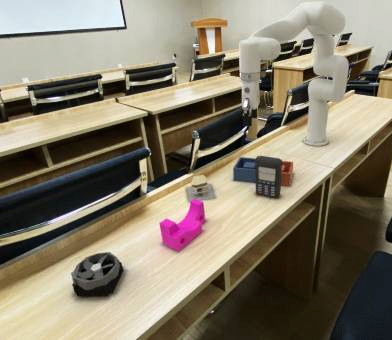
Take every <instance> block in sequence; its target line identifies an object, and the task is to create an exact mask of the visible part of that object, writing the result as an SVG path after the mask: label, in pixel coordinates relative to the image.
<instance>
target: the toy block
mask: <svg viewBox="0 0 392 340" xmlns="http://www.w3.org/2000/svg"><path fill="white" fill-rule="evenodd" d="M205 222H206V213H205V203H204V201H203V200H197V199H193V200H192V201H190V202H189V207H188V210H187V213H186V215H185V216H184V217H183V219H182V220H181V221H179V222H178V223H176V221H174V220H171V219H169V218H164V219H163V220H161V221H160V222H159V223H158V224H159V230H160V233H161V234H160V235H161V240H162V244H163V245H164V246H167V247H169V248H171V249H173V250H175V251H177V252H180V251H181V250H182V249H183V248H185V246H187V245H188V244H189V243H191V241H193V240H194V239H196V238H197V236H199V235H200V234H201V233H202V232H203V228H202V227H203V226H202V225H203V224H204V223H205Z"/></svg>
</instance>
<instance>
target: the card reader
mask: <svg viewBox="0 0 392 340" xmlns="http://www.w3.org/2000/svg"><path fill="white" fill-rule="evenodd" d="M255 158H256V159H255V183H254V185H255V194H257V195H258V196H263V197H269V198H273V199H279V198H280V196H281V192H282V191H281V189H282V186H281V174H282V161H283V159H281V158H280V157H272V156H267V155H257V156H256V157H255Z"/></svg>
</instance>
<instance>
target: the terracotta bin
mask: <svg viewBox="0 0 392 340" xmlns="http://www.w3.org/2000/svg"><path fill="white" fill-rule="evenodd" d="M282 165H285V172H282V174H281V187H291V182H292V180H293V179H292V178H293V174H294V161H290V160H289V161H288V160H282Z"/></svg>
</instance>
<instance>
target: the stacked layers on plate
mask: <svg viewBox="0 0 392 340" xmlns="http://www.w3.org/2000/svg"><path fill="white" fill-rule="evenodd" d="M191 179H192V180H191V184H190V185H191V186H190V187H187V188H186V189H187V196H188V201H189V203H190V201H192V200H193V199H197V200H200V201H203V200H209V199H214V198H215V196H214V193H213V189H212V186H211V184H209V183H208V178H207V177H206V176H205V175H204V174H201V175H194V176H193V177H192V178H191Z"/></svg>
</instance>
